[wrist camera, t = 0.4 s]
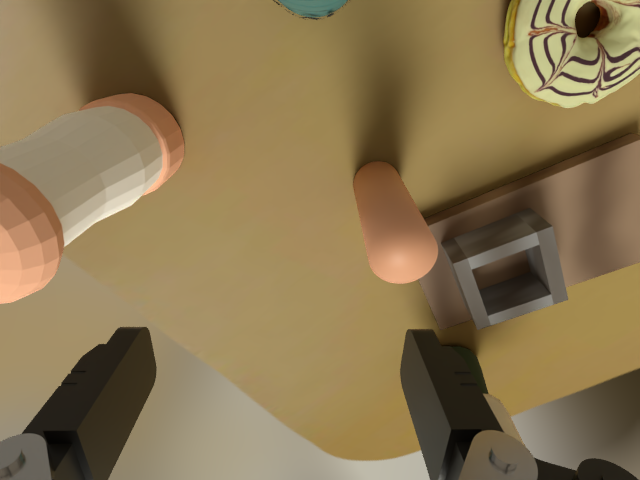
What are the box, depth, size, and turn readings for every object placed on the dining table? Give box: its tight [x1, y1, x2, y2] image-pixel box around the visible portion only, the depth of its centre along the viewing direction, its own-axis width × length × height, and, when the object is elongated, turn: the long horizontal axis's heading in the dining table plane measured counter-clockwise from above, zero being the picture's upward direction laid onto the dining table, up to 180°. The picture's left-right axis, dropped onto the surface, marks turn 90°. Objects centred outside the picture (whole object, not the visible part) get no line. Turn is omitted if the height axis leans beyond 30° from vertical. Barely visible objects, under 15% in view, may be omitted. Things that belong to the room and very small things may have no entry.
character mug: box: [452, 346, 525, 446], centre depth 36 cm, size 11×7×13 cm, turn 68°
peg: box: [353, 161, 438, 284], centre depth 26 cm, size 4×4×12 cm
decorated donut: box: [503, 0, 640, 108], centre depth 24 cm, size 10×11×4 cm
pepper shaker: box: [0, 93, 184, 304], centre depth 22 cm, size 7×7×19 cm
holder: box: [418, 133, 640, 330], centre depth 32 cm, size 20×12×5 cm, turn 116°
